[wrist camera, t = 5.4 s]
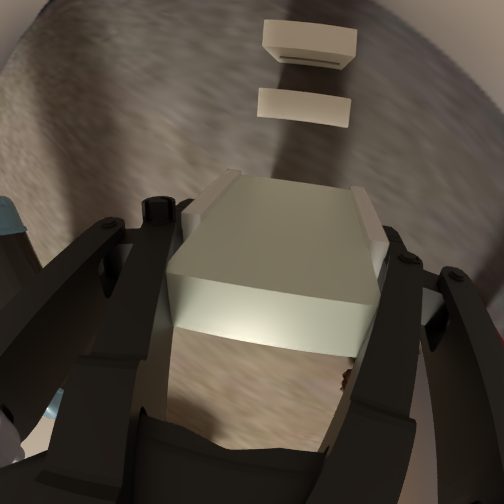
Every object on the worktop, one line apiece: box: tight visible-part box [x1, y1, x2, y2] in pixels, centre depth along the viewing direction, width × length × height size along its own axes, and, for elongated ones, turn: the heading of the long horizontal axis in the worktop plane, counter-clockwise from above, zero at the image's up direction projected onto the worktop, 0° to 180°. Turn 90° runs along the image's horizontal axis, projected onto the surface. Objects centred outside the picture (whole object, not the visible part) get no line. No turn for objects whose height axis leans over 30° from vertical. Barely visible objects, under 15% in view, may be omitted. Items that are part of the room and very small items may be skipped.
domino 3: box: [166, 175, 381, 358], centre depth 13 cm, size 6×2×10 cm, turn 87°
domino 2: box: [257, 88, 351, 128], centre depth 22 cm, size 6×2×10 cm, turn 87°
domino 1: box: [262, 20, 357, 70], centre depth 20 cm, size 6×2×10 cm, turn 87°
